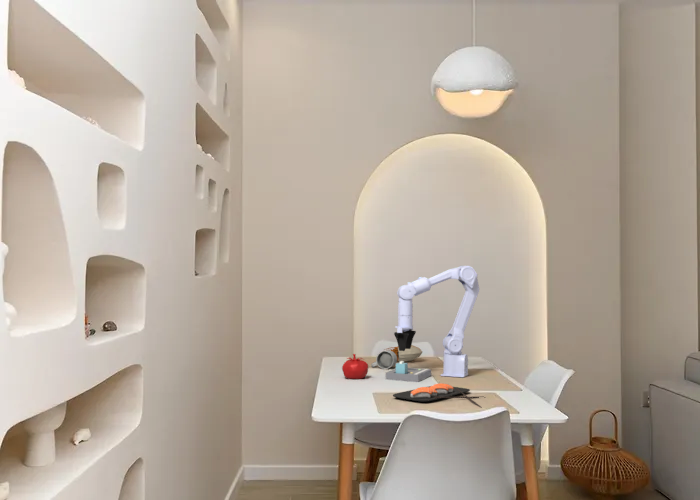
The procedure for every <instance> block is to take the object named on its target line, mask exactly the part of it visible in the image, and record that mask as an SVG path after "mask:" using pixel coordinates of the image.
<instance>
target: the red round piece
mask: <svg viewBox="0 0 700 500" xmlns="http://www.w3.org/2000/svg"><path fill="white" fill-rule="evenodd" d="M356 357H357V356H356V353H352V357H346V361H345V362H344V363H343V365H342V367H341V369H342V373H343V376H344V377H345V379H349V380H362V379H364V378H365V377H366V376H367V374H368V372H369V365H368V363H367V362H366V360H365V359H364V358H362V357H358V358H356ZM347 359H348V360H347Z"/></svg>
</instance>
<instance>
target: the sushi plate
mask: <svg viewBox="0 0 700 500" xmlns="http://www.w3.org/2000/svg"><path fill="white" fill-rule="evenodd" d="M470 391H471V389H470V388H467V387H466V388H465V387H458V386H452V385H451V384H449V383H448V384H447V383H434V384H433V385H430V386H422V387H417V388H415V389H410V390H406V391H401V392H398V393H397V392H396V393H394V394H392V396H393V397H395V398H398V399H402V400H405V399H406V401H410V400H412V402H417V401H418V403H427V402H431V401H436V400H437V401H438V400H442V399H468V400H469V401H470V402H471V403H472V404H473V405H475V406H477V407H479V408H481V409H483V408H482V406H481V405H479V404H478V403H477V402H476V401H475V400H473V399H480V398H479V397H480V396H468V395H466V394H465V393H469V392H470ZM456 395H463V396H456ZM484 396H485V395H484ZM484 396H483V395H482V396H481V397H484ZM484 398H485V397H484Z"/></svg>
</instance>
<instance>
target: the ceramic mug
mask: <svg viewBox="0 0 700 500" xmlns="http://www.w3.org/2000/svg"><path fill="white" fill-rule="evenodd" d="M396 363H398V361H397V356H396V354H395V353H394V352H393V351H391V350H390V349H387V351H386V350H382V351H379V353H378V354H377V356H376V359H375V361H374V362H373V363H371V364H370V366H371V368H374V367H379V368H380V369H382V370H388V369H390V368H392V367H394V366H396Z"/></svg>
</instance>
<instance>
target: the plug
mask: <svg viewBox="0 0 700 500" xmlns="http://www.w3.org/2000/svg"><path fill="white" fill-rule="evenodd" d="M408 365H409V362H404V361H400V362H396V364H395V369H396V373H400V374H408V368H409V366H408Z"/></svg>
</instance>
